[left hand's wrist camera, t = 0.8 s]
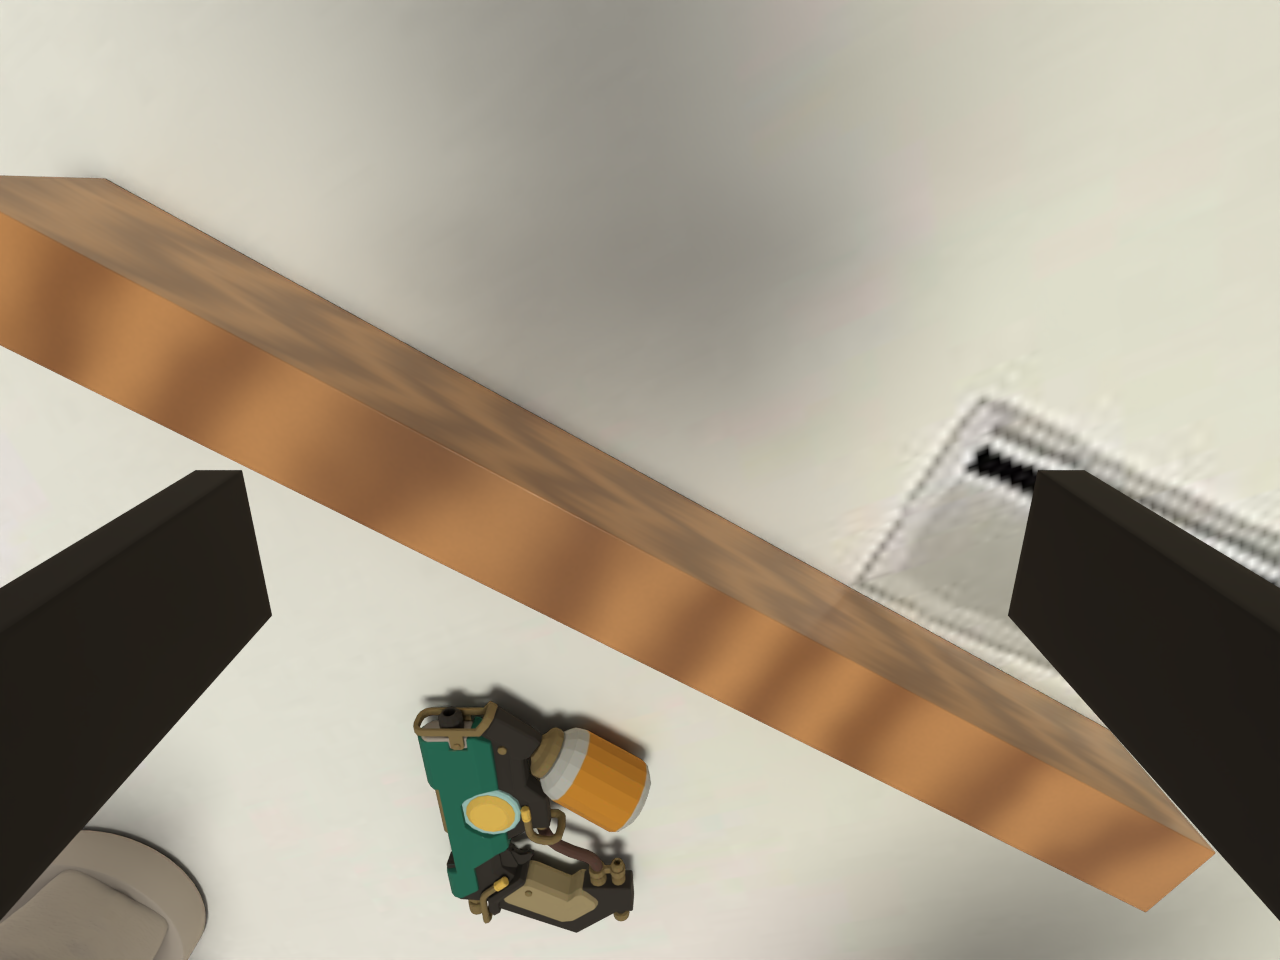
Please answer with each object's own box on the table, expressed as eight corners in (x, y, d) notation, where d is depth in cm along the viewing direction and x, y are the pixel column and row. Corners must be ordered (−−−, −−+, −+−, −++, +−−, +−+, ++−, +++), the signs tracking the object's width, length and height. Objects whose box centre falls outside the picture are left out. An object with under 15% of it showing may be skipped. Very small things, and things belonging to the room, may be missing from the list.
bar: (77, 272, 34) (-101, 296, 26) (104, 177, 32) (-75, 172, 24) (1055, 783, 45) (1146, 913, 37) (1109, 730, 43) (1216, 853, 35)
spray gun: (623, 906, 49) (404, 861, 49) (685, 723, 42) (431, 667, 42) (618, 971, 45) (380, 922, 45) (685, 780, 39) (405, 720, 38)
